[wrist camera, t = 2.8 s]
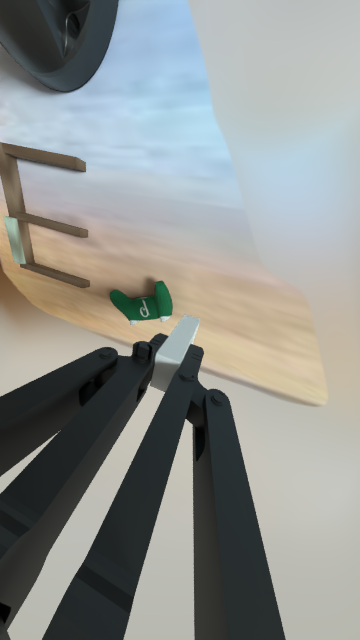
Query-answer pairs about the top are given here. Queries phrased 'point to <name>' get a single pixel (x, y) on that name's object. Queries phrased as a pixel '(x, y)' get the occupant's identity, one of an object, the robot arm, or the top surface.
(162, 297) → the gaming controller
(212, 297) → the top surface
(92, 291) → the top surface
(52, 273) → the letter e shape
